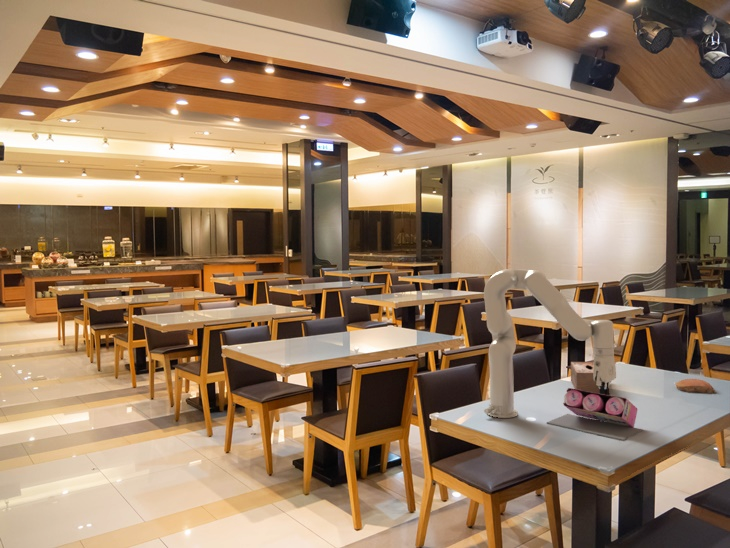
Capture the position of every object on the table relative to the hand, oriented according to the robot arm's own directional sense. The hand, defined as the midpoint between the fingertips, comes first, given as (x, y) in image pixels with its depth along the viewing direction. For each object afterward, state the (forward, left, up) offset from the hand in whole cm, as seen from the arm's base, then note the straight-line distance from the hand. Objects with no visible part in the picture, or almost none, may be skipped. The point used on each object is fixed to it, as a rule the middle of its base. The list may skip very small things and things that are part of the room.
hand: (604, 398), depth 231 cm
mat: (-8, +1, -10) cm, 13 cm away
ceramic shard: (+78, -5, -10) cm, 78 cm away
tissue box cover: (+50, +32, -10) cm, 60 cm away
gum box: (+2, 0, -6) cm, 6 cm away
